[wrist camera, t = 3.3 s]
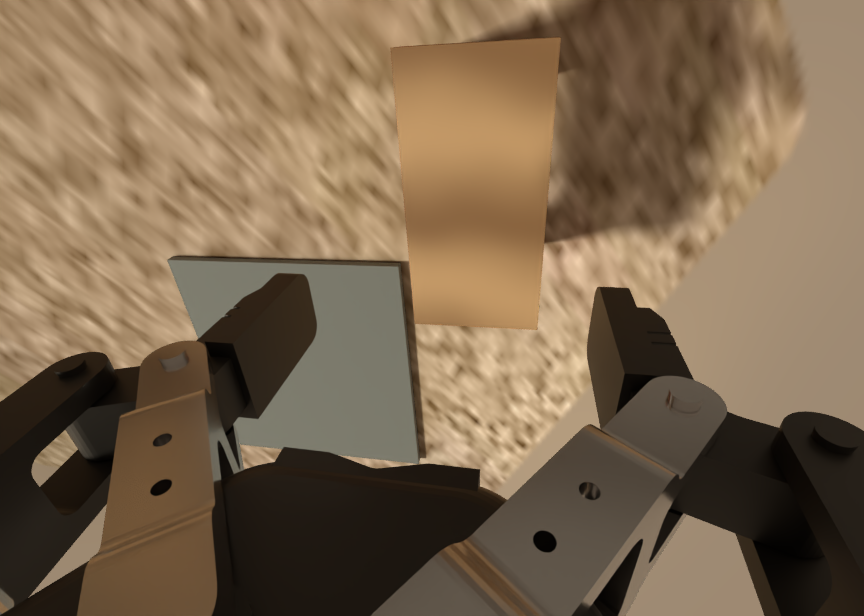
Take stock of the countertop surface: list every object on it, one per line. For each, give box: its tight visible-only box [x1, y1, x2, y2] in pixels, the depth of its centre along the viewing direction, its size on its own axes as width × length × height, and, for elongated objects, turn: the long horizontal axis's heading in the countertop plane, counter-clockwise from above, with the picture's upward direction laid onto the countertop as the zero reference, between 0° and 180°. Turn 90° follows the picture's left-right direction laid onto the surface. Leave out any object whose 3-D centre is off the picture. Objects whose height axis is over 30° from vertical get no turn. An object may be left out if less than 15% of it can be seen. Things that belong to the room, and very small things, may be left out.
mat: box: [167, 257, 420, 464], centre depth 37 cm, size 20×18×1 cm
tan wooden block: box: [390, 37, 561, 330], centre depth 23 cm, size 12×6×9 cm, turn 3°
